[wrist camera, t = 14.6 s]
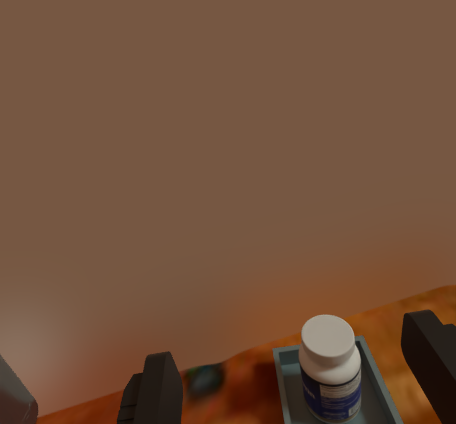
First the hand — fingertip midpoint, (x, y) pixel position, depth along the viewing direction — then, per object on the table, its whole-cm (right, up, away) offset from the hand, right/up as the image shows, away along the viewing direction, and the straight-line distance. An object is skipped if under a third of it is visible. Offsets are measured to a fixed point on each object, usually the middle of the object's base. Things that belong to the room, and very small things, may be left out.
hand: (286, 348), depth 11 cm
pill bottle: (+9, -15, +24) cm, 29 cm away
